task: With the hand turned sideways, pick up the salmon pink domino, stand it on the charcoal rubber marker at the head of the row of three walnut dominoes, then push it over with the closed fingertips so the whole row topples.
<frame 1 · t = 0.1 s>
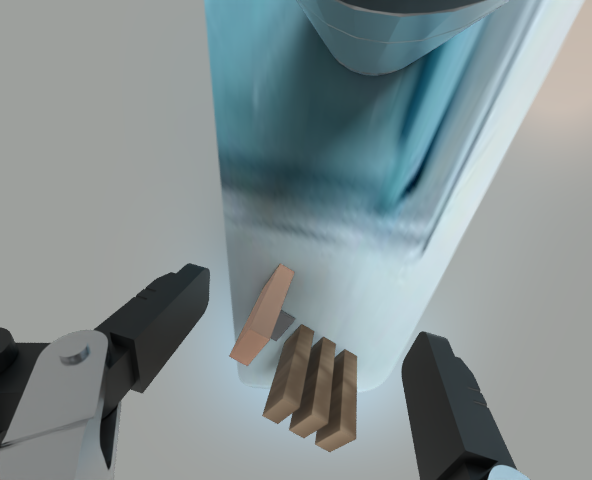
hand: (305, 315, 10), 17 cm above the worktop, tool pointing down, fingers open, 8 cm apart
salmon pink domino: (278, 280, 32), on the worktop
walnut domino 4: (340, 361, 36), on the worktop
walnut domino 3: (319, 349, 36), on the worktop
walnut domino 2: (298, 337, 36), on the worktop
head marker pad: (277, 324, 36), on the worktop
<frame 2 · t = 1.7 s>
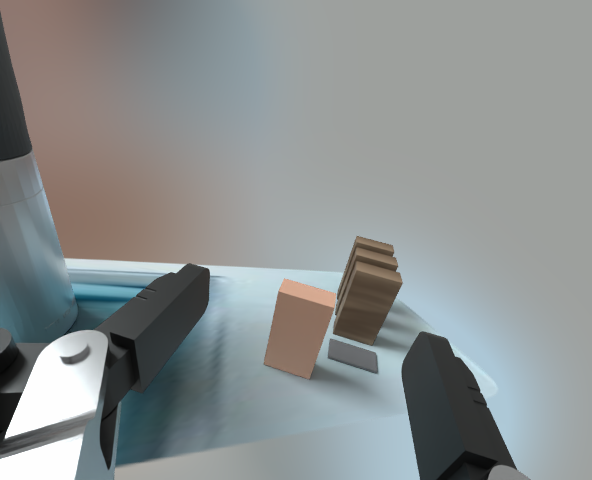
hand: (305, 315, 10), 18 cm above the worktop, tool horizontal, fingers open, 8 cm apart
salmon pink domino: (288, 363, 28), on the worktop
walnut domino 4: (353, 299, 39), on the worktop
walnut domino 3: (352, 315, 36), on the worktop
walnut domino 2: (352, 333, 33), on the worktop
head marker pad: (351, 356, 30), on the worktop
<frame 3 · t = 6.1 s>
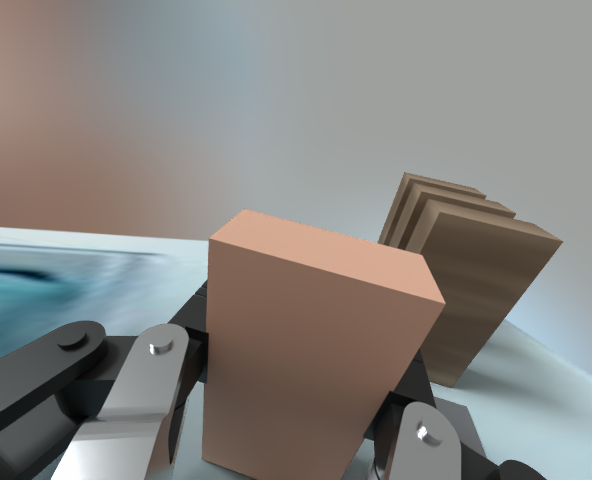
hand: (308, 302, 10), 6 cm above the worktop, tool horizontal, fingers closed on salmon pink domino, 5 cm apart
salmon pink domino: (269, 451, 11), on the worktop, touching gripper
walnut domino 4: (391, 293, 22), on the worktop
walnut domino 3: (397, 322, 19), on the worktop
walnut domino 2: (405, 360, 16), on the worktop
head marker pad: (417, 417, 13), on the worktop
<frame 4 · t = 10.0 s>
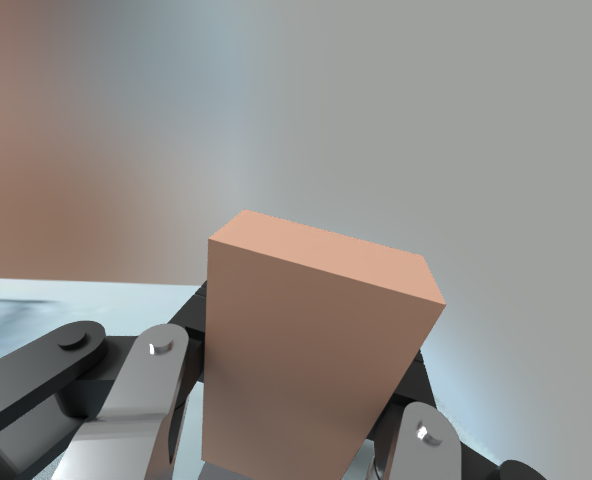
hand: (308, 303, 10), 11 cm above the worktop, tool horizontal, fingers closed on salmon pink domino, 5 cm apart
salmon pink domino: (269, 452, 11), point 5 cm above the worktop, touching gripper
when the fingers open (7 cm above the worktop, at t = 11.0 s): salmon pink domino stays where it is, resting on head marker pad.
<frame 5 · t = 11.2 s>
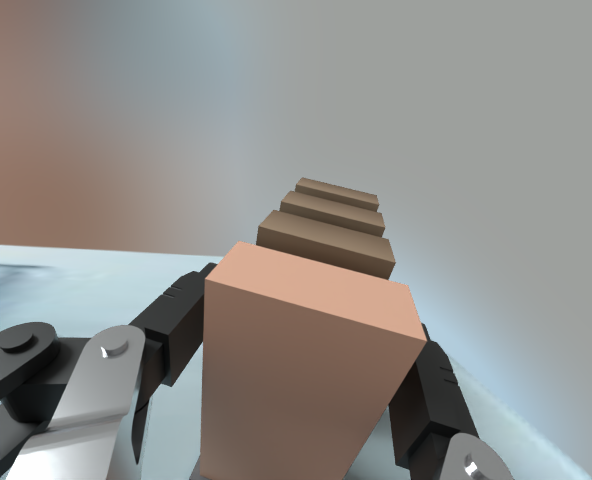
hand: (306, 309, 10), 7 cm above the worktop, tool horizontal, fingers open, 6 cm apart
salmon pink domino: (265, 465, 11), resting on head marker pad
walnut domino 4: (305, 309, 21), on the worktop
walnut domino 3: (296, 343, 17), on the worktop
walnut domino 2: (284, 391, 14), on the worktop
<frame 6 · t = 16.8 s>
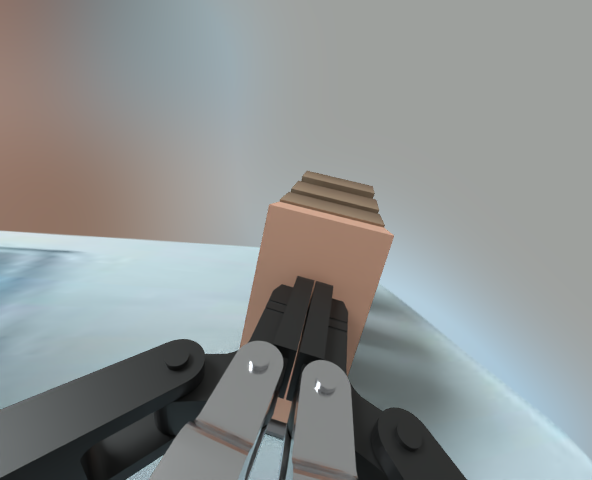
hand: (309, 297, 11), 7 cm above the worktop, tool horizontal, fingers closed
salmon pink domino: (281, 403, 13), point 1 cm above the worktop, tilted 14°, touching gripper, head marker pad
walnut domino 4: (309, 290, 23), on the worktop
walnut domino 3: (302, 317, 20), on the worktop
walnut domino 2: (293, 353, 17), on the worktop, tilted 5°
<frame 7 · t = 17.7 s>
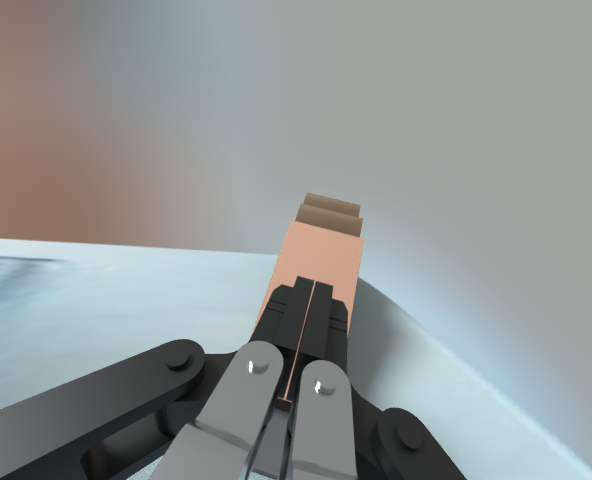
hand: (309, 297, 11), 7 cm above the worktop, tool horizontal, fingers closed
salmon pink domino: (283, 398, 13), point 1 cm above the worktop, tilted 56°, touching walnut domino 2
walnut domino 3: (306, 307, 19), point 1 cm above the worktop, tilted 56°, touching walnut domino 2, walnut domino 4
walnut domino 2: (298, 342, 16), point 1 cm above the worktop, tilted 56°, touching salmon pink domino, walnut domino 3
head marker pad: (271, 440, 12), on the worktop
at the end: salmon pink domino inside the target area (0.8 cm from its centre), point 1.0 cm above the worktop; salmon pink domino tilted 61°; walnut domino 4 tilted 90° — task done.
